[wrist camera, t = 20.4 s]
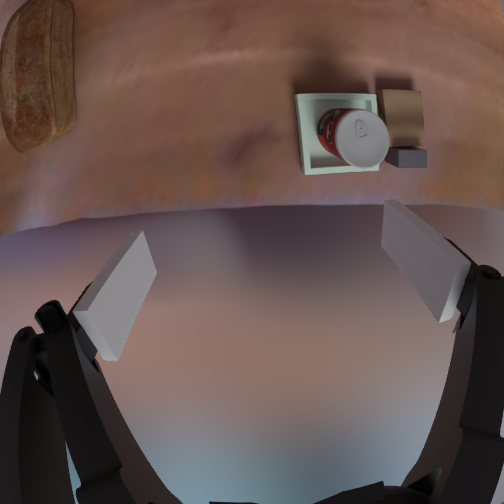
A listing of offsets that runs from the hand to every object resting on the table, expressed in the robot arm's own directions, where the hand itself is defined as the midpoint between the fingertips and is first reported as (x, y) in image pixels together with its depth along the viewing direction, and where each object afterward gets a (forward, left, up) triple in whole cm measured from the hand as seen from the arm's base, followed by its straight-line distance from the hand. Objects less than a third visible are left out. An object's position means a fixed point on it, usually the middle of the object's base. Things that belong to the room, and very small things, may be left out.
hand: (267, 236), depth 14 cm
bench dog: (+2, +26, -32) cm, 41 cm away
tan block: (-5, +26, -32) cm, 42 cm away
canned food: (-2, +14, -31) cm, 34 cm away
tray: (-2, +14, -32) cm, 35 cm away
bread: (-26, -34, -32) cm, 54 cm away
